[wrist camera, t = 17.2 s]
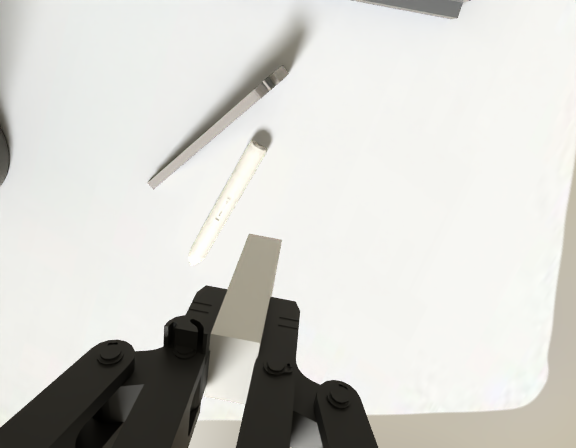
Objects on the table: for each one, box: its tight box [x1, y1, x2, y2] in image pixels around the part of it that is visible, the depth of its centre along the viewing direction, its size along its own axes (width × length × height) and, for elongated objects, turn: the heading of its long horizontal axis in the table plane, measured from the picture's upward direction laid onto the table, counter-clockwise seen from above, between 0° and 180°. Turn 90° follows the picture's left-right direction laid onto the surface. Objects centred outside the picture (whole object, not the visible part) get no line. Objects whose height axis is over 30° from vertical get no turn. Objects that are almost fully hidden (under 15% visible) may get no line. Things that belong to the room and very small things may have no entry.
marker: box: [189, 140, 267, 266], centre depth 45 cm, size 18×2×2 cm, turn 149°
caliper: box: [148, 65, 289, 189], centre depth 40 cm, size 20×1×6 cm, turn 129°
